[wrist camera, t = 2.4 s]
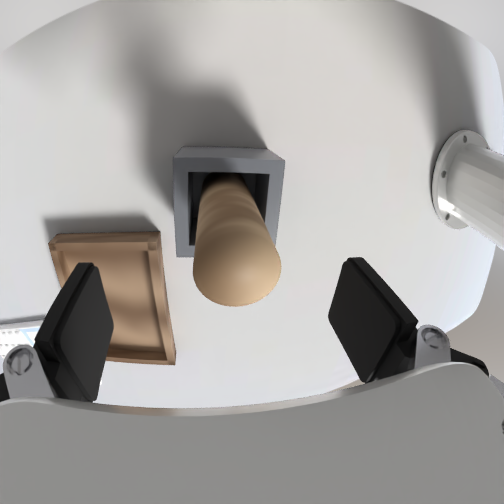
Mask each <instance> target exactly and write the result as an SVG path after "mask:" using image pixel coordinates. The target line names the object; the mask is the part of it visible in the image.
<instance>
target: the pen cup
mask: <svg viewBox="0 0 504 504" xmlns="http://www.w3.org/2000/svg"><path fill="white" fill-rule="evenodd" d="M284 169H285V160H283V159H282V158H281V157H279V156H278V155H276V154H275V153H273V152H272V151H270V150H269V149H260V148H241V147H182V148H181V149H180V150H179V152H178V153H177V154H176V155H175V156H174V157H173V192H174V222H175V241H176V256H177V257H194V251H195V241H196V231H197V222H198V213H199V205H200V197H201V189H202V184H203V181H204V179H205V177H206V176H207V175H208V174H209V173H210V172H238V173H240V174H241V175H242V177H243V178H244V180H245V182H246V184H247V186H248V189H249V191H250V193H251V195H252V197H253V199H254V201H255V204H256V206H257V208H258V210H259V212H260V214H261V217H262V219H263V221H264V223H265V225H266V228H267V230H268V232H269V234H270V236H271V239H272V241H273V243H274V245H276V237H277V229H278V221H279V212H280V204H281V196H282V187H283V178H284Z"/></svg>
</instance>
